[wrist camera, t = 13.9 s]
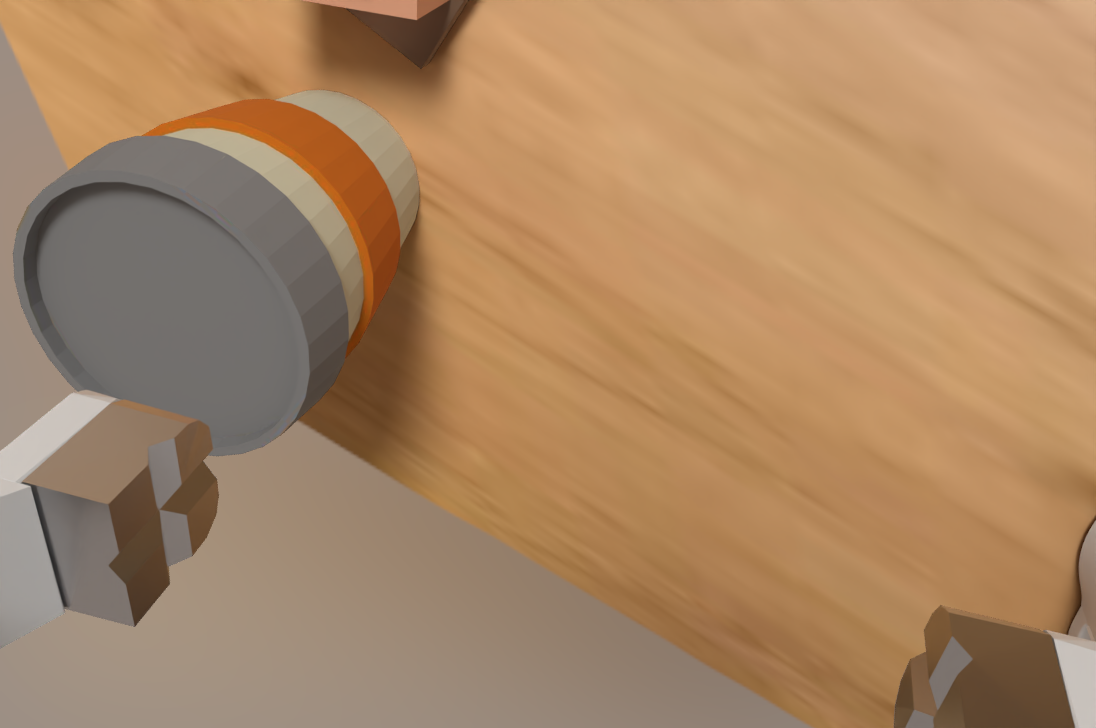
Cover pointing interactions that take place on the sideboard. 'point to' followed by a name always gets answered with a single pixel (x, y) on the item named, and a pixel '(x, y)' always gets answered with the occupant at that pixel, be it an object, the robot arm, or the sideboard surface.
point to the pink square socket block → (388, 6)
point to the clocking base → (414, 30)
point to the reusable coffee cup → (221, 260)
